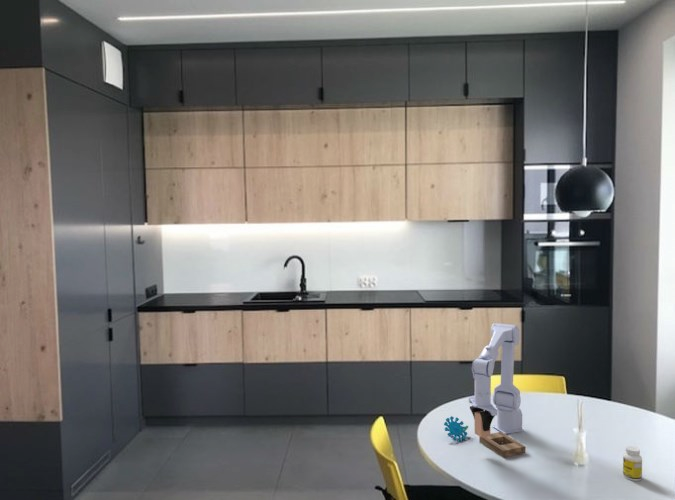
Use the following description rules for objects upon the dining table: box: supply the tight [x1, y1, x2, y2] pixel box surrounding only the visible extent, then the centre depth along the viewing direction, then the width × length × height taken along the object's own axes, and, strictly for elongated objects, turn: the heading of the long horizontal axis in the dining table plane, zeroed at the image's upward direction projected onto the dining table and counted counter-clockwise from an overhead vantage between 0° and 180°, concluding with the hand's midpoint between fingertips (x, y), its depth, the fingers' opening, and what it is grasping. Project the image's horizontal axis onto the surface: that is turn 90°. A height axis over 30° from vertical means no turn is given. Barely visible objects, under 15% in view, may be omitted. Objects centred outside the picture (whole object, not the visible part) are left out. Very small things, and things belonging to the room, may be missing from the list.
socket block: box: [478, 431, 527, 459], centre depth 190 cm, size 10×14×2 cm
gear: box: [443, 415, 469, 442], centre depth 200 cm, size 11×6×10 cm
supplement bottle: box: [622, 445, 643, 482], centre depth 166 cm, size 5×5×10 cm
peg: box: [474, 410, 491, 438], centre depth 185 cm, size 4×4×8 cm
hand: (482, 428), depth 185 cm, fingers closed on peg, 4 cm apart
